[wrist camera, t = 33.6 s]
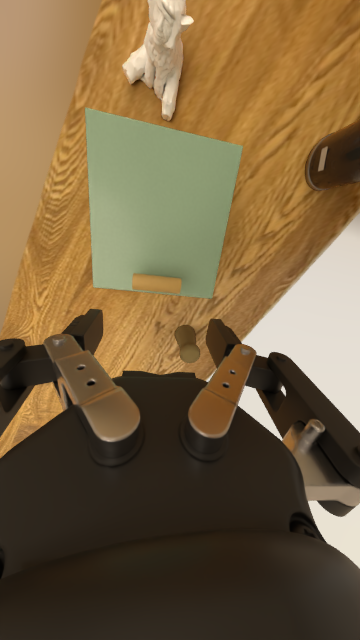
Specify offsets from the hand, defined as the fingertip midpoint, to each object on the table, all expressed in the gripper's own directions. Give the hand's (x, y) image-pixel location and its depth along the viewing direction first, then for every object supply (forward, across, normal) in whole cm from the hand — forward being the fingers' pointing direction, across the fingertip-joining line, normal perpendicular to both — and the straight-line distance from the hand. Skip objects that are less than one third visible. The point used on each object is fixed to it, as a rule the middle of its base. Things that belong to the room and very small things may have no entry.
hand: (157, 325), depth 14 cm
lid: (+16, 0, -7) cm, 17 cm away
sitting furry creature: (+34, +2, -30) cm, 45 cm away
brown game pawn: (+34, -10, +20) cm, 41 cm away
